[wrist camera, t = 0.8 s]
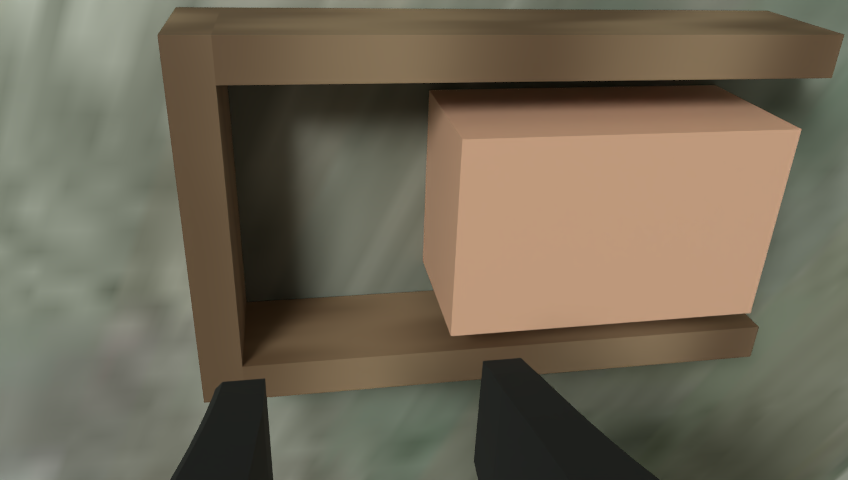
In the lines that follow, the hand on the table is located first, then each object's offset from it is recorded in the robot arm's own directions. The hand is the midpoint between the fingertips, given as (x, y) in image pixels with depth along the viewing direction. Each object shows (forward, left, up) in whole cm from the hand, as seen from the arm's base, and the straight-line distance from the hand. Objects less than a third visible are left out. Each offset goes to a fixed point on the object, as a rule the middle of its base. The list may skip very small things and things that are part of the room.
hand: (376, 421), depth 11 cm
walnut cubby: (-5, 0, -9) cm, 10 cm away
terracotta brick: (-7, 0, -10) cm, 12 cm away
